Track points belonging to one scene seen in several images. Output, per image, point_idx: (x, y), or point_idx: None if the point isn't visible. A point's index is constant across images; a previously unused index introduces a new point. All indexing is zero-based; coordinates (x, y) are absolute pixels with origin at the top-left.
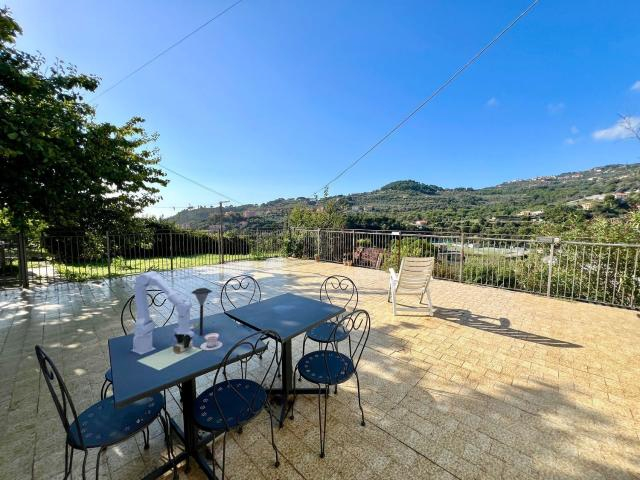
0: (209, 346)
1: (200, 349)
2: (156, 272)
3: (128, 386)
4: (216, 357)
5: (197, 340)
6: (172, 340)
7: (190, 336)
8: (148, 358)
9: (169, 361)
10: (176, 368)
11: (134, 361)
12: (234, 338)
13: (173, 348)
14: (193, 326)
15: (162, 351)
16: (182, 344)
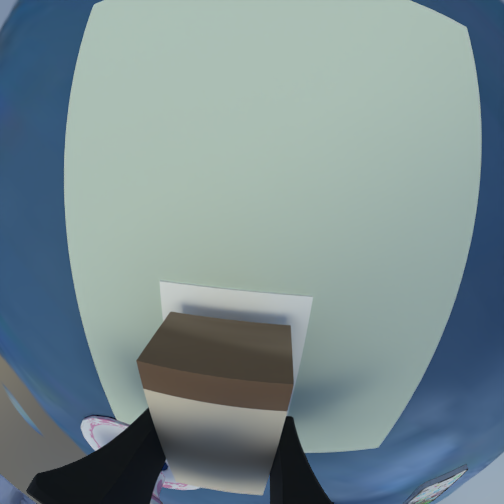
0: None
1: (130, 421)
2: None
3: None
4: (5, 347)
5: None
6: (459, 424)
7: (2, 484)
8: (438, 82)
9: (127, 132)
10: (20, 118)
11: (478, 34)
12: None
13: (279, 351)
14: (417, 501)
15: (442, 283)
16: (196, 439)
